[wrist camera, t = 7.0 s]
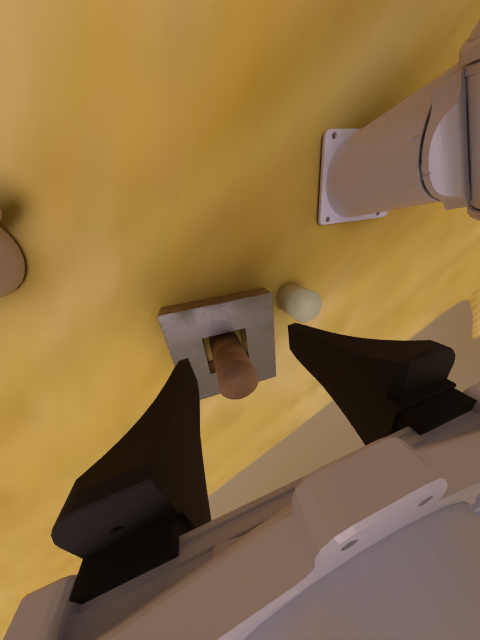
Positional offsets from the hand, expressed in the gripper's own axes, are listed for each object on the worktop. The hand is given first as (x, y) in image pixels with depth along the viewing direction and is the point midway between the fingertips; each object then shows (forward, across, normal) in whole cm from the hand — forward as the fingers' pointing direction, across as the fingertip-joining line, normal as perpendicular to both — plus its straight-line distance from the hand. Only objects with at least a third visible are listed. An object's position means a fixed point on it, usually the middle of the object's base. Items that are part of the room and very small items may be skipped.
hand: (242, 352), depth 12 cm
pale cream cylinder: (+10, -9, +1) cm, 14 cm away
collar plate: (+10, +1, +5) cm, 11 cm away
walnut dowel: (+10, +1, +4) cm, 11 cm away
